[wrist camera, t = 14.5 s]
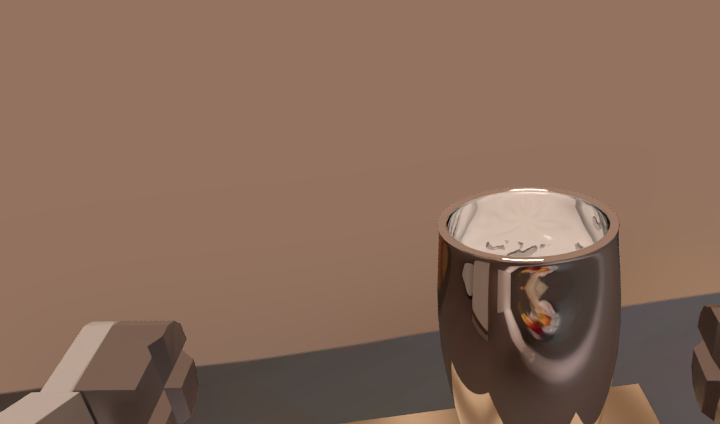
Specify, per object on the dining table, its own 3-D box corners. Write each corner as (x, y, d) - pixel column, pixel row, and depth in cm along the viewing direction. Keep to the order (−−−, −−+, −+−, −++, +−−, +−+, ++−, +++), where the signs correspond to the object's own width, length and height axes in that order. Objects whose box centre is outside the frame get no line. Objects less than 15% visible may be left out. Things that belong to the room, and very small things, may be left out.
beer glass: (429, 482, 34) (407, 203, 28) (557, 446, 35) (561, 172, 29) (490, 606, 28) (477, 280, 22) (642, 555, 29) (669, 236, 23)
